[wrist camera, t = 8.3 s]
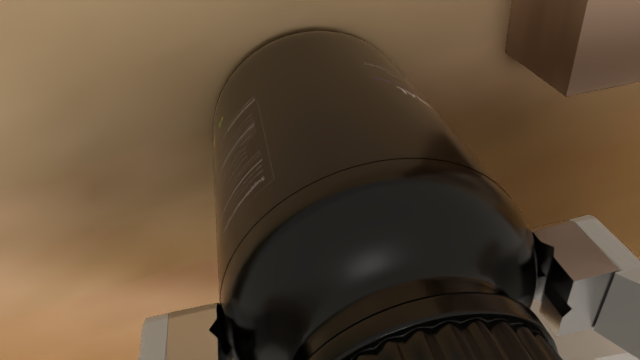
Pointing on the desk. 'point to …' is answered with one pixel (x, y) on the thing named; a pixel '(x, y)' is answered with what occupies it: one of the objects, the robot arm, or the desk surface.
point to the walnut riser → (577, 42)
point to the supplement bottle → (361, 218)
